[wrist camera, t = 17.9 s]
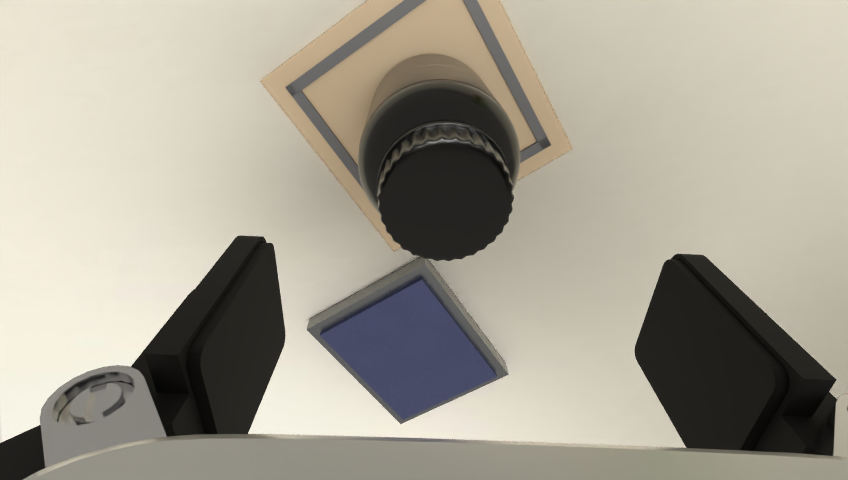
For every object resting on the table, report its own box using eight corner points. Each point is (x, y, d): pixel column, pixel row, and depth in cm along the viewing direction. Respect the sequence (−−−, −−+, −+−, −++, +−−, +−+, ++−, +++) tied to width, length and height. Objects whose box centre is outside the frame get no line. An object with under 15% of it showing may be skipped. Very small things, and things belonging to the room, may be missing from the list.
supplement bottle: (350, 135, 26) (309, 230, 16) (411, 25, 24) (410, 53, 13) (448, 192, 28) (469, 311, 18) (514, 96, 26) (586, 170, 15)
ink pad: (505, 363, 36) (509, 378, 34) (400, 412, 38) (400, 428, 37) (424, 254, 31) (425, 267, 29) (310, 318, 33) (305, 333, 32)
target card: (571, 147, 27) (573, 150, 27) (393, 249, 30) (393, 253, 30) (463, -72, 22) (464, -73, 21) (261, 80, 25) (258, 81, 25)
